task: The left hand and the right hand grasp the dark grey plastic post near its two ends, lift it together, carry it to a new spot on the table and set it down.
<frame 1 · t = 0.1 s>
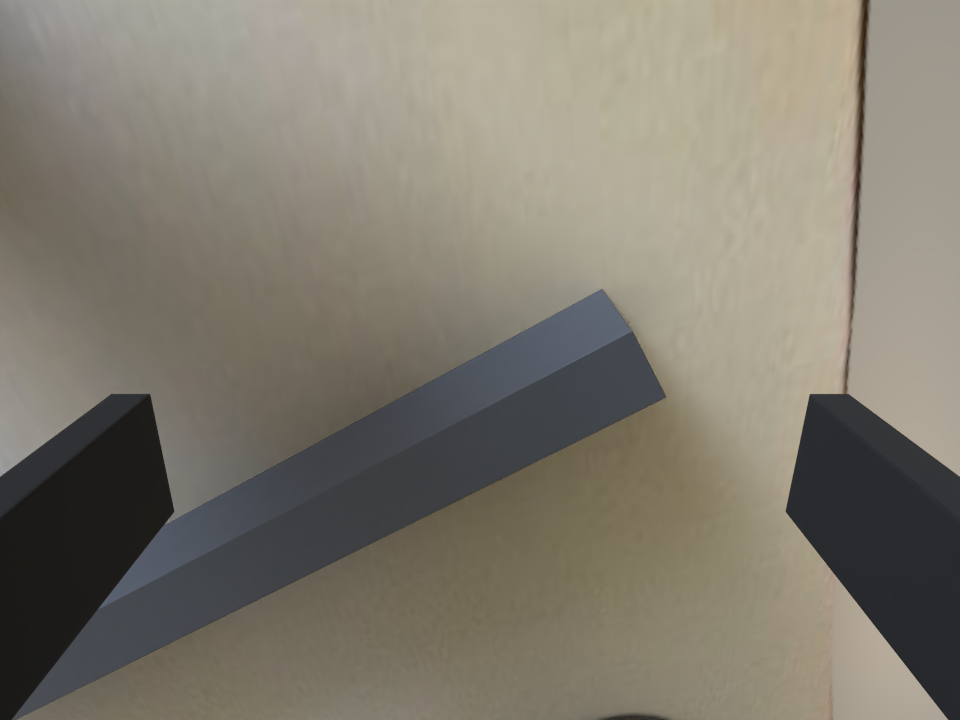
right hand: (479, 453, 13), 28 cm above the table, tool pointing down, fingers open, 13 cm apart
post: (246, 512, 47), on the table
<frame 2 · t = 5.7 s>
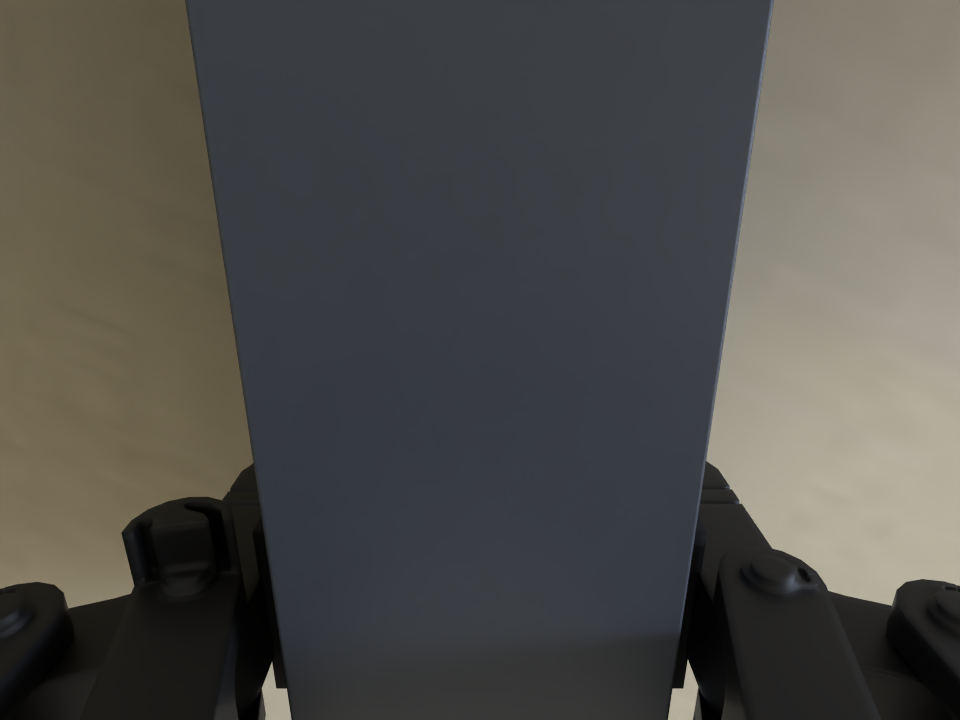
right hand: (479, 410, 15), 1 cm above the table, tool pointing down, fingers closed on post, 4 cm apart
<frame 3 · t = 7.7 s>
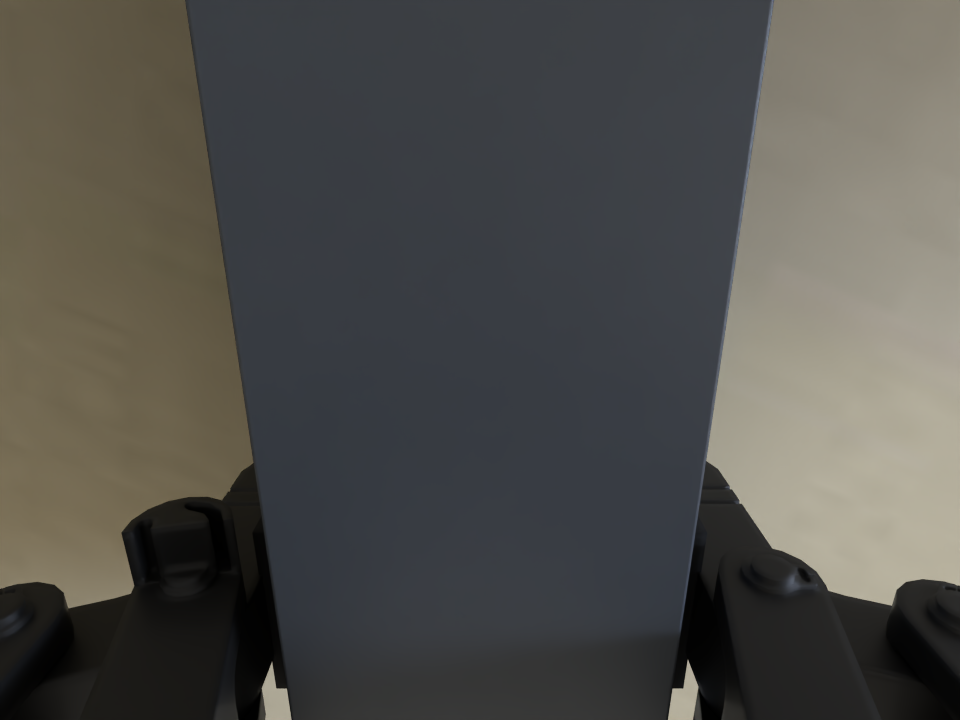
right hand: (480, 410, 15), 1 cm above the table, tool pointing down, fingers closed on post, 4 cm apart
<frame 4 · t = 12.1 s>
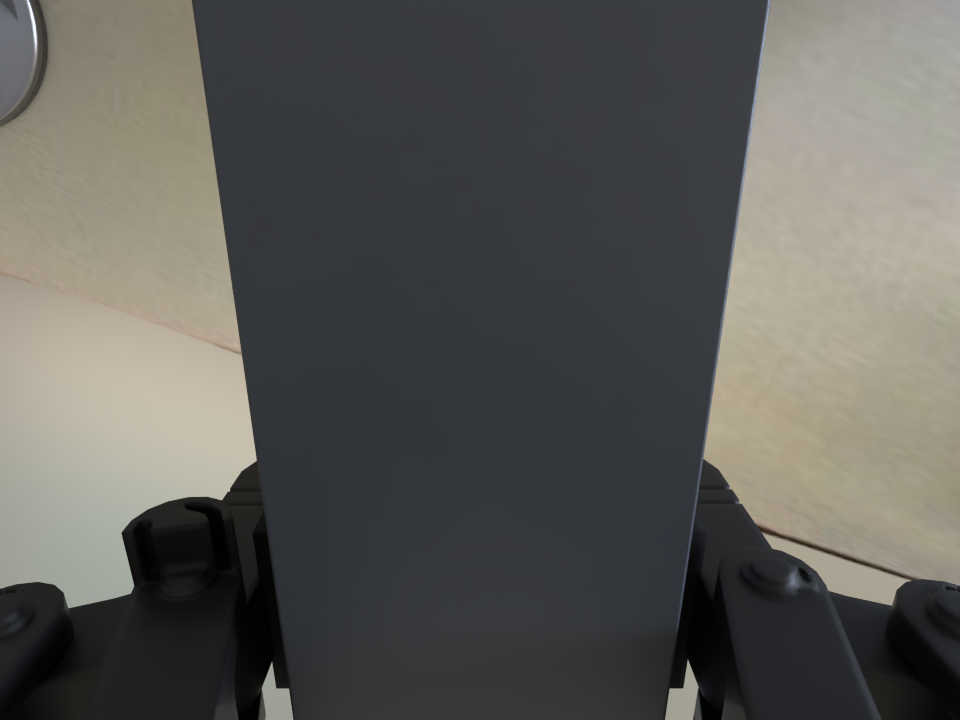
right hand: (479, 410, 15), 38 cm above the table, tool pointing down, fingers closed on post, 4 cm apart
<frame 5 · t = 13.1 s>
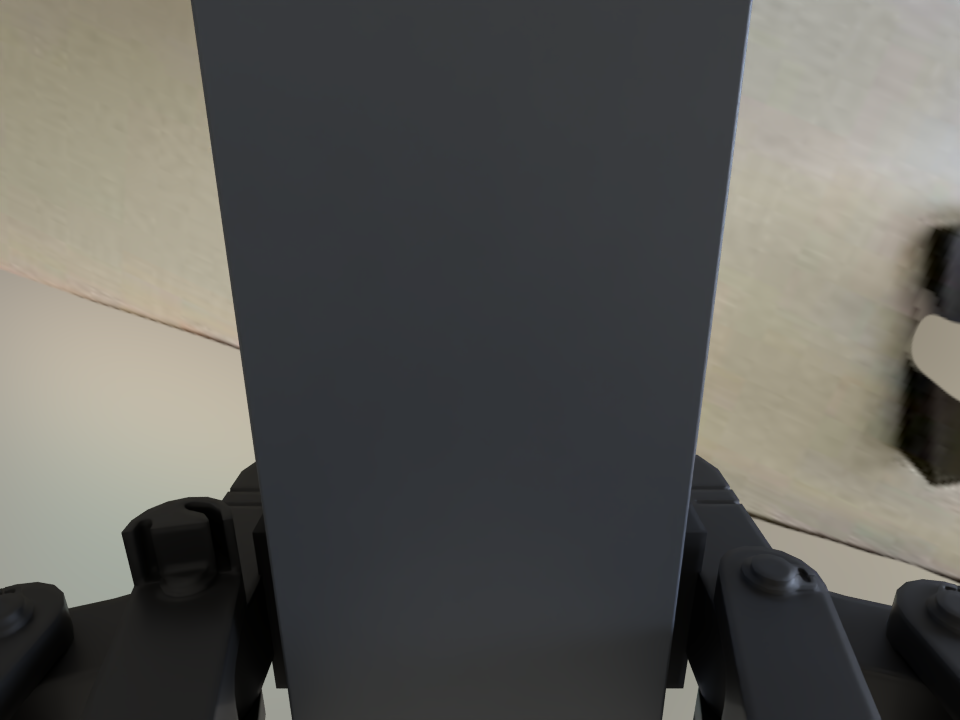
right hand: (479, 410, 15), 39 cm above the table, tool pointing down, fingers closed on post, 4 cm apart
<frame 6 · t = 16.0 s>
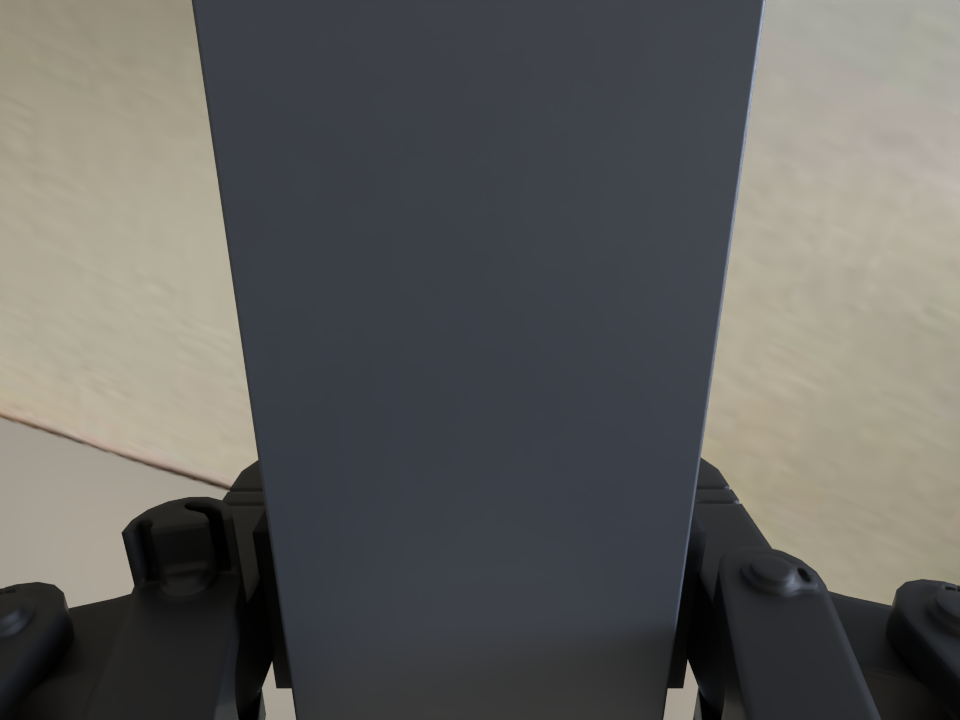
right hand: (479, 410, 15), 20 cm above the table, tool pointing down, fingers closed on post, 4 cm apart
when the left hand's fingers open (2 cm above the table, at t = 18.7 s): post drops 2 cm, on the table.
when the right hand's fingers open (2 cm above the table, at t = 18.7 s): post drops 2 cm, on the table.
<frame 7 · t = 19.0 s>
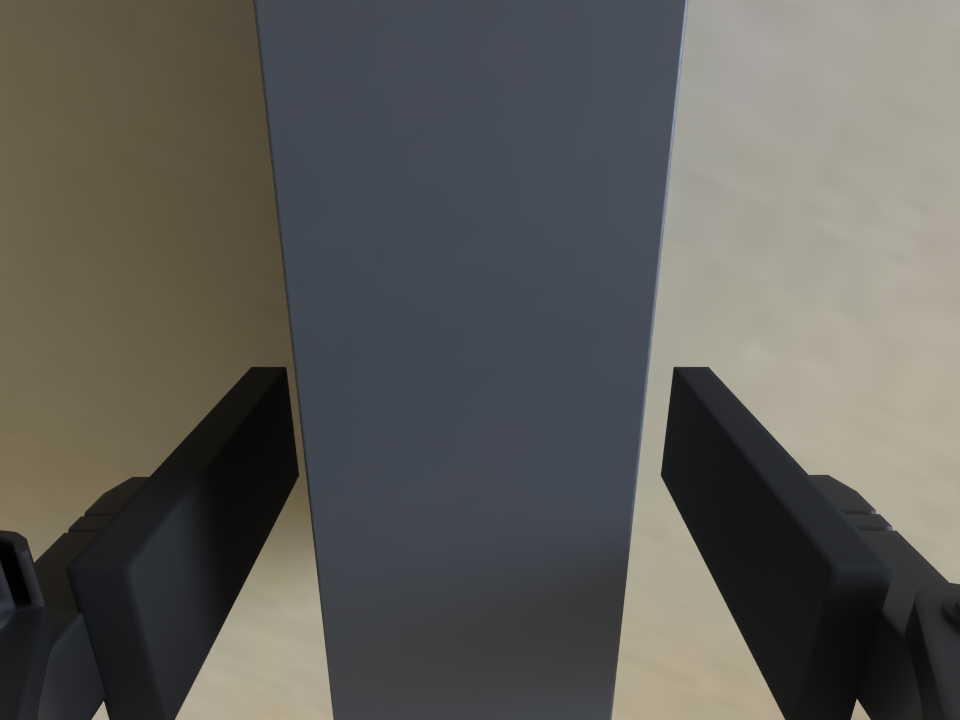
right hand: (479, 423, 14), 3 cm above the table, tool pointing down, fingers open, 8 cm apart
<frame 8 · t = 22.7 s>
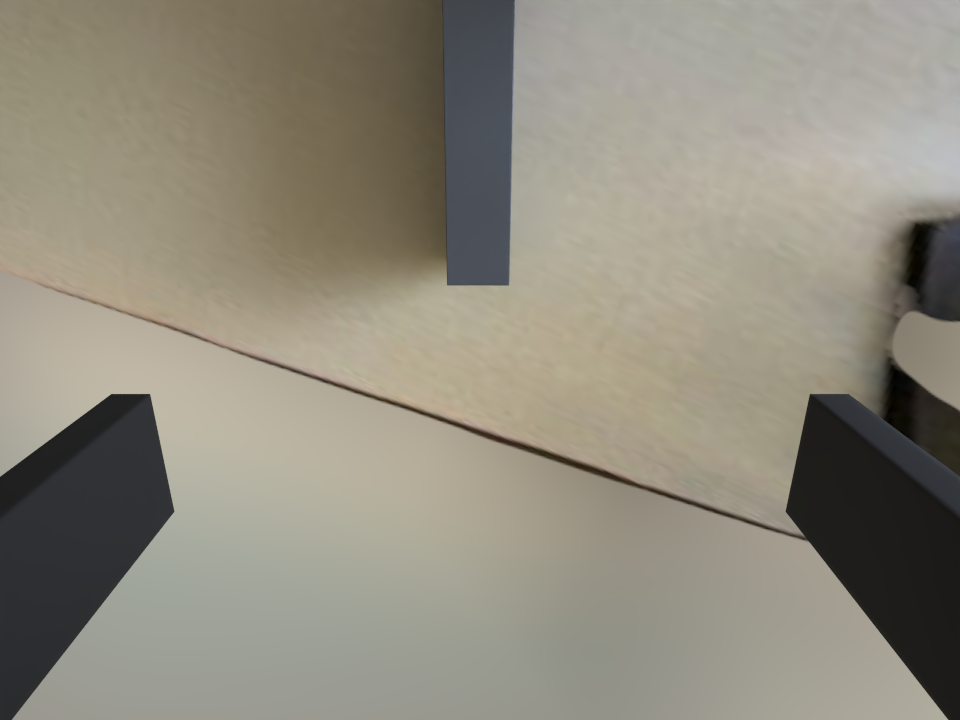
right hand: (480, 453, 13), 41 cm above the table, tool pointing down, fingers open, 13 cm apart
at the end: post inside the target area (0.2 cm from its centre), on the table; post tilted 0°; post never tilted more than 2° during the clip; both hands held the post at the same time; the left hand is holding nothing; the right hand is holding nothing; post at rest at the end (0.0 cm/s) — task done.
